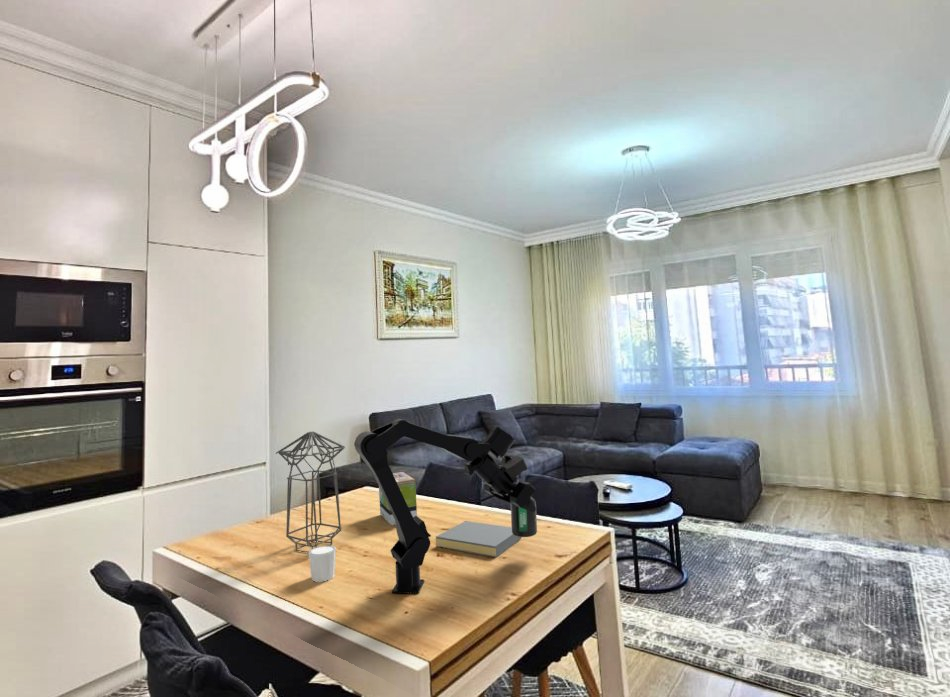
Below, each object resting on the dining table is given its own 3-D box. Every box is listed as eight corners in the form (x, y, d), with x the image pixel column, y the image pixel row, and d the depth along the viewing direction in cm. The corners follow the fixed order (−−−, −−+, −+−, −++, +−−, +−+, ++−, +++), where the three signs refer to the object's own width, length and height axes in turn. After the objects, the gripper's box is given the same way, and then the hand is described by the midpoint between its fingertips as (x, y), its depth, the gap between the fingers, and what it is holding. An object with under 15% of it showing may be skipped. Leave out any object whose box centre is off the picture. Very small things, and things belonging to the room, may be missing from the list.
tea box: (379, 515, 179) (377, 474, 180) (405, 510, 184) (403, 471, 184) (390, 526, 166) (388, 482, 166) (418, 521, 170) (416, 478, 171)
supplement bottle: (527, 539, 127) (525, 493, 128) (506, 534, 132) (504, 489, 132) (542, 532, 133) (540, 487, 133) (521, 527, 137) (519, 484, 137)
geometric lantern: (316, 536, 159) (313, 428, 160) (352, 543, 151) (348, 428, 152) (275, 553, 145) (271, 434, 147) (311, 561, 137) (307, 436, 139)
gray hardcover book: (495, 557, 133) (494, 546, 133) (435, 547, 143) (435, 536, 144) (521, 538, 147) (521, 528, 147) (465, 530, 157) (465, 520, 157)
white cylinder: (327, 569, 130) (326, 543, 131) (342, 575, 126) (341, 548, 126) (303, 579, 125) (302, 551, 125) (319, 585, 121) (318, 556, 121)
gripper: (526, 452, 123) (564, 490, 128) (491, 443, 140) (526, 477, 144) (501, 488, 119) (540, 526, 124) (468, 475, 136) (504, 509, 140)
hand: (527, 507), depth 133 cm, fingers closed on supplement bottle, 7 cm apart
